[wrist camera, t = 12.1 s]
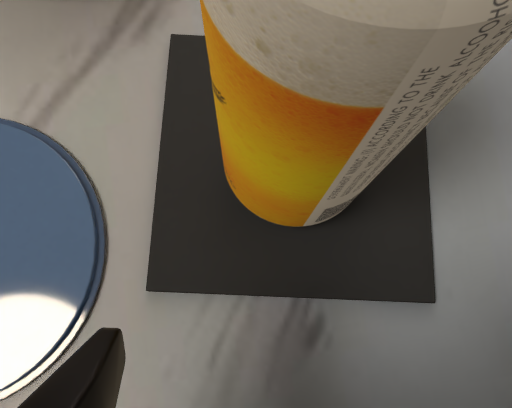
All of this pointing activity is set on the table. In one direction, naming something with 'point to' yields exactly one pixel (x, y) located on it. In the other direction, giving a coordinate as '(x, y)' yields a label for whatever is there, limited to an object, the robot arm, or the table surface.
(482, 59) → the beer can
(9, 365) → the plate
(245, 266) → the mat
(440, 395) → the table surface
